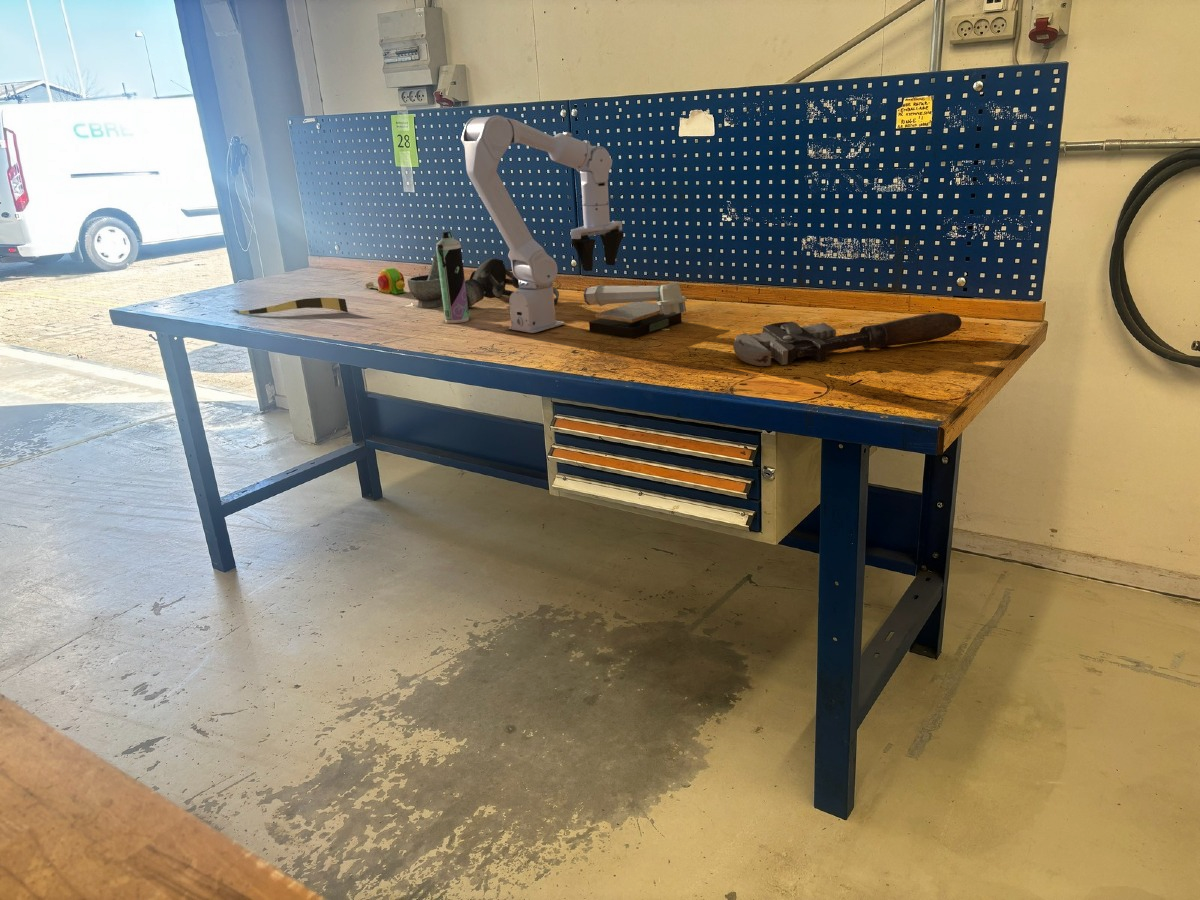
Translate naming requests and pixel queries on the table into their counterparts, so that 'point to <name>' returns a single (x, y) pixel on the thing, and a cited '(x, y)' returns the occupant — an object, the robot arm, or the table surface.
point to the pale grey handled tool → (638, 296)
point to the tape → (303, 305)
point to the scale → (634, 325)
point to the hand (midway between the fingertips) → (599, 267)
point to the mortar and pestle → (427, 287)
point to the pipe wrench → (838, 338)
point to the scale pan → (631, 312)
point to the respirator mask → (491, 282)
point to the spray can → (452, 279)
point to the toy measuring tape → (389, 281)
